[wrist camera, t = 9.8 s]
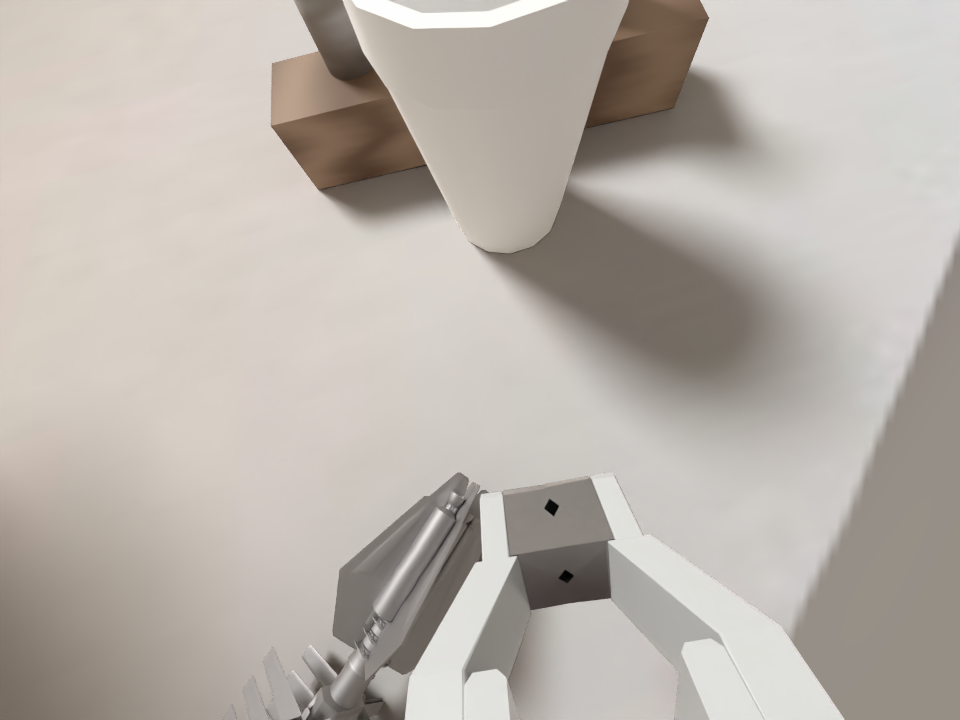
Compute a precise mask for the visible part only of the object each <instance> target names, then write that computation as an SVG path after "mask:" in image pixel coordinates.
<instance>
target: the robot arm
mask: <svg viewBox="0 0 960 720" xmlns="http://www.w3.org/2000/svg"><path fill="white" fill-rule="evenodd" d="M480 518H481V541H482V561H481V562H476V563H475V564H474V566H473V568H472V570H471V571H470V573H469V575H468V577H467V578H466V580H465V582H464V584H463V585H462V587H461V589H460V591H459V592H458V594H457V596H456V598H455V599H454V601H453V603H452V605H451V606H450V608H449V610H448V612H447V613H446V615H445V617H444V619H443V620H442V622H441V624H440V626H439V627H438V629H437V631H436V633H435V634H434V636H433V638H432V640H431V641H430V643H429V645H428V647H427V648H426V650H425V652H424V654H423V655H422V657H421V659H420V661H419V662H418V664H417V666H416V668H415V669H414V671H413V673H412V675H411V676H410V678H409V685H408V694H407V703H406V712H405V720H520V717H519V714H518V711H517V708H516V705H515V702H514V699H513V696H512V693H511V690H510V687H509V684H508V680H509V677H510V674H511V671H512V668H513V665H514V662H515V659H516V656H517V653H518V650H519V647H520V644H521V642H522V639H523V636H524V633H525V630H526V627H527V624H528V621H529V618H530V615H531V611H530V610H535V609H541V608H546V607H552V606H557V605H562V604H568V603H575V602H583V601H592V600H600V599H608V598H611V600H612V601H613V603H614V604H615V605H616V606H617V607H618V608H619V609H620V610H621V611H622V612H623V613H624V614H625V615H626V616H627V618H628V619H629V620H630V621H631V622H632V623H633V624H634V625H635V626H636V627H637V628H638V629H639V630H640V632H641V633H642V634H643V635H644V636H645V637H646V638H647V639H648V640H649V641H650V642H651V643H652V644H653V645H654V647H655V648H656V649H657V650H658V651H659V652H660V653H661V654H662V655H663V656H664V657H665V658H666V659H667V660H668V662H669V663H670V664H671V665H672V666H673V667H674V668H675V669H676V670H677V671H678V672H679V678H678V688H677V698H676V707H675V717H674V720H845V719H844V718H843V717H842V715H841V714H840V712H839V711H838V709H837V708H836V706H835V705H834V703H833V702H832V701H831V699H830V697H829V696H828V695H827V693H826V692H825V690H824V689H823V687H822V686H821V684H820V683H819V681H818V680H817V679H816V677H815V676H814V674H813V673H812V671H811V670H810V668H809V667H808V665H807V664H806V662H805V661H804V659H803V658H802V656H801V655H800V654H799V652H798V651H797V649H796V648H795V646H794V645H793V643H792V642H791V640H790V639H789V637H788V636H787V634H786V633H785V632H784V630H783V629H782V627H781V626H780V625H778V624H777V623H776V622H774V621H773V620H771V619H770V618H768V617H767V616H766V615H764V614H763V613H761V612H760V611H759V610H757V609H756V608H754V607H753V606H752V605H750V604H749V603H747V602H746V601H745V600H743V599H742V598H740V597H739V596H737V595H736V594H735V593H733V592H732V591H730V590H729V589H728V588H726V587H725V586H723V585H722V584H721V583H719V582H718V581H716V580H715V579H714V578H712V577H711V576H709V575H708V574H706V573H705V572H704V571H702V570H701V569H699V568H698V567H697V566H695V565H694V564H692V563H691V562H690V561H688V560H687V559H685V558H684V557H683V556H681V555H680V554H678V553H677V552H676V551H674V550H673V549H671V548H670V547H668V546H667V545H666V544H664V543H663V542H661V541H660V540H659V539H657V538H656V537H654V536H653V535H652V534H650V535H643V533H642V530H641V528H640V526H639V524H638V522H637V520H636V518H635V516H634V514H633V512H632V510H631V508H630V506H629V504H628V502H627V500H626V498H625V495H624V493H623V491H622V489H621V487H620V485H619V483H618V481H617V479H616V477H615V475H614V474H613V473H612V472H609V473H603V474H597V475H592V476H589V477H588V476H585V477H580V478H575V479H569V480H564V481H558V482H553V483H547V484H545V485H538V486H531V487H524V488H517V489H510V490H504V491H499V492H492V493H486V494H481V497H480Z"/></svg>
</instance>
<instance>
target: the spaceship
mask: <svg viewBox="0 0 960 720" xmlns="http://www.w3.org/2000/svg"><path fill="white" fill-rule="evenodd" d="M468 482H469V480H468V478H467V477H466V476H464V475H463V474H462V473H457V474H455V475H454V476H453V477H452V478H451V479H449V480H448V481H447V482H446V483H445V484H443V485H442V486H441V487H440V488H439V489H438V490H436V491H435V492H434V493H433V494H432V495H430V496H424V497H423V498H422V499H421V500H419V501H418V502H417V503H416V504H415V505H414V506H413V507H411V508H410V509H409V510H408V511H407V512H406V513H404V514H403V515H402V516H401V517H400V518H399V519H397V520H396V521H395V522H394V523H393V524H392V525H391V526H389V527H388V528H387V529H386V530H385V531H384V532H382V533H381V534H380V535H379V536H378V537H377V538H376V539H374V540H373V541H372V542H371V543H370V544H369V545H367V546H366V547H365V548H364V549H363V550H362V551H360V552H359V553H358V554H357V555H356V556H355V557H354V558H352V559H351V560H350V561H349V562H348V563H347V564H345V565H344V566H343V567H342V568H341V569H340V571H339V580H338V589H337V598H336V606H335V615H334V624H333V636H335V637H336V638H338V639H339V640H341V641H342V642H344V643H346V644H347V645H349V646H350V647H352V648H354V649H355V650H354V651H353V653H352V654H351V655H350V656H349V657H348V661H347V663H346V664H345V666H344V667H343V669H342V670H341V672H340V674H339V675H337V674H336V673H335V671H334V670H333V669H332V668H331V667H330V666H329V665H328V664H327V662H326V661H325V660H324V659H323V658H322V657H321V656H320V655H319V653H318V652H317V651H316V650H315V649H314V648H313V647H312V646H311V645H309V646H308V648H307V649H306V651H305V652H304V654H303V655H302V658H303V660H304V661H305V663H306V664H307V665H308V667H309V668H310V670H311V671H312V672H313V674H314V675H315V677H316V678H317V680H318V681H319V682H320V684H321V685H322V687H321V688H320V689H319V691H318V692H317V693H316V694H315V695H314V694H313V693H312V692H311V691H310V689H309V688H308V687H307V686H306V685H305V683H304V682H303V681H302V680H301V678H300V677H299V676H298V675H297V674H296V672H295V671H293V670H292V672H291V673H290V674H289V676H288V677H287V678H286V676H285V673H284V671H283V669H282V666H281V664H280V662H279V659H278V657H277V655H276V652H275V650H274V648H273V647H272V648H271V649H270V651H269V652H268V654H267V655H266V657H265V658H264V659H263V663H264V666H265V670H266V673H267V677H268V680H269V684H270V687H271V691H272V694H273V700H272V701H271V703H270V704H269V705H268V707H267V709H266V710H267V713H268V714H269V716H270V718H271V719H272V720H370V718H369V717H372V716H374V715H377V714H378V712H379V711H380V709H381V707H382V706H383V704H384V702H380V701H381V698H378V699H371V700H366V696H365V695H364V694H363V692H364V691H365V689H366V687H367V686H368V684H369V683H370V681H371V680H372V679H374V677H375V674H376V672H377V671H378V670H379V669H380V668H381V667H387V666H388V667H390V668H392V669H394V670H395V671H397V672H399V673H401V674H402V675H404V674H407V673H408V672H410V671H411V670H413V669H414V668H416V666H417V664H418V662H419V661H420V659H421V657H422V655H423V654H424V652H425V650H426V648H427V647H428V645H429V643H430V641H431V640H432V638H433V636H434V634H435V633H436V631H437V629H438V627H439V626H440V624H441V622H442V620H443V619H444V617H445V615H446V613H447V612H448V610H449V608H450V606H451V605H452V603H453V601H454V599H455V598H456V596H457V594H458V592H459V591H460V589H461V587H462V585H463V584H464V582H465V580H466V578H467V577H468V575H469V573H470V571H471V570H472V568H473V566H474V564H475V563H476V562H479V559H480V556H481V552H482V541H481V518H480V497H481V494H486V493H489V492H487V491H486V490H482V491H481V492H479V493H478V491H479V488H480V486H479V485H478V484H477V485H476V483H474V482H473V483H472V484H471V485H470V486H469V488H468V489H467V485H468ZM475 485H476V486H475ZM466 489H467V490H466ZM477 493H478V494H477ZM243 693H244V697H245V702H246V706H247V711H248V715H249V720H269V718H268V715H267V713H266V710H265V707H264V704H263V701H262V698H261V695H260V692H259V690H258V687H257V684H256V681H255V678H254V676H253V675H252V676H251V678H250V679H249V681H248V682H247V684H246V685H245V686H244V688H243ZM362 694H363V695H362ZM297 703H298V704H297ZM298 705H299V706H300V708H301V709H302V711H303V713H302V714H301V711H300V709H299V706H298ZM222 720H237V718H236V714H235V711H234V707H233V705H231V706H230V708H229V709H228V711H227V712H226V713H225V715H224V716H223V718H222Z"/></svg>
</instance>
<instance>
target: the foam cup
mask: <svg viewBox="0 0 960 720" xmlns="http://www.w3.org/2000/svg"><path fill="white" fill-rule="evenodd" d="M342 1H343V3H344V6H345V8H346V11H347V13H348V16H349V18H350V21H351V23H352V26H353V28H354V31H355V33H356V36H357V38H358V41H359V44H360V46H361V49H362V51H363V53H364V55H365V56H366V58H367V59H368V61H369V62H370V64H371V65H372V67H373V68H374V70H375V71H376V73H377V74H378V76H379V77H380V79H381V80H382V82H383V83H384V85H385V86H386V87H387V88H388V90H389V92H390V94H391V96H392V98H393V100H394V102H395V104H396V106H397V108H398V110H399V112H400V113H401V115H402V117H403V119H404V121H405V123H406V125H407V127H408V129H409V131H410V133H411V135H412V137H413V139H414V141H415V143H416V145H417V147H418V148H419V150H420V152H421V154H422V156H423V158H424V160H425V162H426V164H427V166H428V168H429V170H430V172H431V174H432V176H433V178H434V180H435V182H436V183H437V185H438V187H439V189H440V191H441V193H442V195H443V197H444V199H445V201H446V203H447V205H448V207H449V209H450V211H451V213H452V215H453V217H454V218H455V220H456V222H457V223H458V226H459V227H460V229H461V230H462V232H463V233H464V235H465V236H466V238H467V240H468V241H469V242H471V243H473V244H474V245H476V246H478V247H480V248H482V249H483V250H485V251H487V252H498V253H513V252H517V251H520V250H523V249H526V248H529V247H532V246H534V245H535V244H536V243H537V242H538V241H540V240H541V239H542V238H543V237H544V236H545V235H547V234H548V233H549V232H550V230H551V228H552V226H553V223H554V221H555V219H556V216H557V214H558V210H559V208H560V205H561V202H562V199H563V196H564V192H565V189H566V186H567V182H568V179H569V176H570V173H571V169H572V166H573V163H574V160H575V156H576V153H577V150H578V147H579V143H580V140H581V137H582V134H583V130H584V127H585V124H586V121H587V117H588V114H589V111H590V108H591V104H592V101H593V98H594V94H595V91H596V88H597V85H598V81H599V78H600V75H601V72H602V68H603V65H604V62H605V59H606V55H607V52H608V50H609V48H610V45H611V43H612V41H613V39H614V36H615V34H616V32H617V29H618V27H619V25H620V22H621V20H622V18H623V16H624V13H625V11H626V9H627V6H628V3H629V0H342Z"/></svg>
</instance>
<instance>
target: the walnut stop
mask: <svg viewBox="0 0 960 720" xmlns="http://www.w3.org/2000/svg"><path fill="white" fill-rule="evenodd" d="M294 1H295V3H296V5H297V7H298V9H299V11H300V13H301V15H302V17H303V20H304V22H305V24H306V26H307V28H308V30H309V32H310V34H311V36H312V38H313V40H314V42H315V44H316V46H317V48H318V50H319V51H318V52H314V53H311V54H307V55H303V56H299V57H295V58H291V59H287V60H284V61H280V62H276V63H272V89H271V127H272V128H273V129H274V131H275V132H276V133H277V135H278V136H279V137H280V139H281V140H282V141H283V143H284V144H285V146H286V147H287V148H288V150H289V151H290V152H291V154H292V155H293V156H294V158H295V159H296V160H297V162H298V163H299V164H300V166H301V167H302V168H303V170H304V171H305V173H306V174H307V175H308V177H309V178H310V179H311V181H312V182H313V183H314V185H315V186H316V187H317V189H318V190H319V189H324V188H328V187H332V186H337V185H341V184H345V183H350V182H354V181H358V180H363V179H367V178H371V177H376V176H380V175H384V174H389V173H393V172H397V171H402V170H406V169H410V168H415V167H419V166H423V165H427V164H426V162H425V160H424V158H423V156H422V154H421V152H420V150H419V148H418V147H417V145H416V143H415V141H414V139H413V137H412V135H411V133H410V131H409V129H408V127H407V125H406V123H405V121H404V119H403V117H402V115H401V113H400V112H399V110H398V108H397V106H396V104H395V102H394V100H393V98H392V96H391V94H390V92H389V90H388V88H387V87H386V86H385V85H384V83H383V82H382V80H381V79H380V77H379V76H378V74H377V73H376V71H375V70H374V68H373V67H372V65H371V64H370V62H369V61H368V59H367V58H366V56H365V55H364V53H363V51H362V49H361V46H360V44H359V41H358V38H357V36H356V33H355V31H354V28H353V26H352V23H351V21H350V18H349V16H348V13H347V11H346V8H345V6H344V3H343V1H342V0H294ZM708 19H709V17H708V15H707V13H706V11H705V9H704V7H703V5H702V4H701V2H700V0H629V3H628V6H627V9H626V11H625V13H624V16H623V18H622V20H621V22H620V25H619V27H618V29H617V32H616V34H615V36H614V39H613V41H612V43H611V45H610V48H609V50H608V52H607V55H606V59H605V62H604V65H603V68H602V72H601V75H600V78H599V81H598V85H597V88H596V91H595V94H594V98H593V101H592V104H591V108H590V111H589V114H588V117H587V121H586V124H585V127H584V128H588V127H592V126H596V125H601V124H605V123H609V122H614V121H618V120H622V119H627V118H631V117H635V116H640V115H644V114H648V113H653V112H657V111H661V110H666V109H670V108H674V106H675V103H676V101H677V98H678V95H679V93H680V90H681V88H682V85H683V83H684V80H685V78H686V75H687V73H688V70H689V68H690V65H691V62H692V60H693V57H694V55H695V52H696V50H697V47H698V45H699V42H700V40H701V37H702V34H703V32H704V29H705V27H706V24H707V22H708Z"/></svg>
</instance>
